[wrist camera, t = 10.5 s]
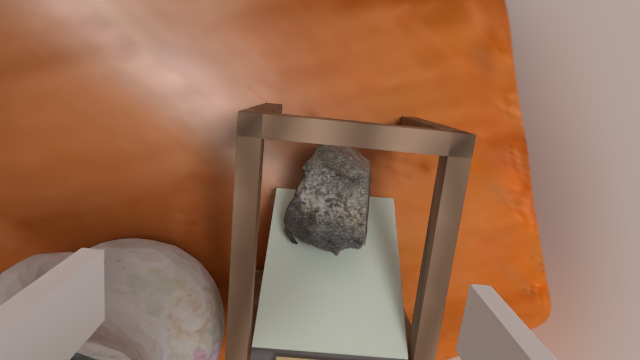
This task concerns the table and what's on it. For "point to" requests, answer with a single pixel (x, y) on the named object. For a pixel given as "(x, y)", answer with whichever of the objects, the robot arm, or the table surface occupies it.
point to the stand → (401, 138)
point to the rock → (331, 200)
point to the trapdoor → (331, 294)
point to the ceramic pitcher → (142, 302)
